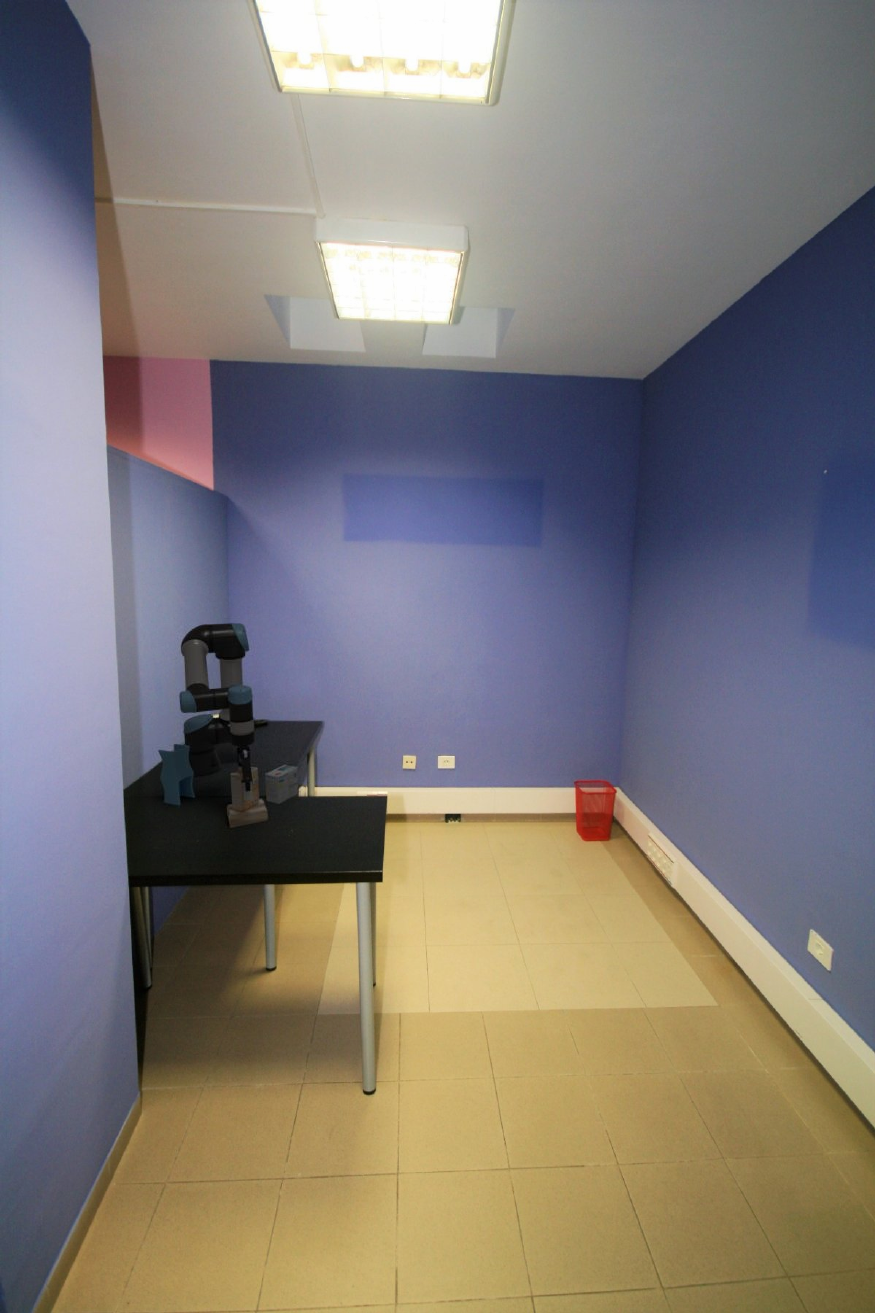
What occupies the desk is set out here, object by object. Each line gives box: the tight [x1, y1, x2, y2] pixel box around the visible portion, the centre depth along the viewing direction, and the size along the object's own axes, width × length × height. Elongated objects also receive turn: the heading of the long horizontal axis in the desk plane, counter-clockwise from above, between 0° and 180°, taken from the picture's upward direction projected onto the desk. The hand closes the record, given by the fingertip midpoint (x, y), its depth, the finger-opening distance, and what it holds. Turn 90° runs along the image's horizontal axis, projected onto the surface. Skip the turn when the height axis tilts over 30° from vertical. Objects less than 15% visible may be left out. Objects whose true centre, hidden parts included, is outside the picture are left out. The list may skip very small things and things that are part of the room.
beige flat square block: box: [226, 798, 269, 828], centre depth 179 cm, size 10×12×4 cm
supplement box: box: [230, 766, 260, 812], centre depth 178 cm, size 8×5×13 cm, turn 157°
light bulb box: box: [264, 764, 299, 805], centre depth 195 cm, size 11×7×11 cm, turn 154°
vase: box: [157, 743, 196, 806], centre depth 192 cm, size 8×8×20 cm
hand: (245, 791), depth 178 cm, fingers open, 13 cm apart
